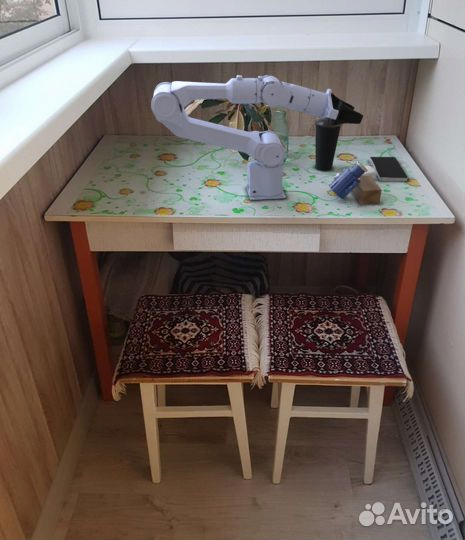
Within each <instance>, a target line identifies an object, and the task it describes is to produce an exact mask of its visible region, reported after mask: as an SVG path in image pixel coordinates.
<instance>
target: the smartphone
mask: <svg viewBox="0 0 465 540" xmlns="http://www.w3.org/2000/svg"><path fill="white" fill-rule="evenodd" d="M368 160H369V163H370V166H371V167H373V168H374V169H375V171H376V177H377V178H378V180H379V182H408V178H409V177H408V175H407V174H406V172H405V170H404V169H403V167H402V165H401V163H400V162H399V160H398V159H397V158H396V157H395V156H370V157H369V159H368Z"/></svg>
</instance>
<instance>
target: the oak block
mask: <svg viewBox="0 0 465 540" xmlns="http://www.w3.org/2000/svg"><path fill="white" fill-rule="evenodd" d="M360 179H361V182H360V183H359V184H358V185H357V186H356V187H355V188H354V189H353V190H352V191H351V192H350V193H352V195H353V196H354V198H355V199H356V201H357V202H358V203H359V205H360V206H362V205H363V206H367V205H380V202H381V197H382V188H381V186H379V184H378V183H377V182H376V181H375V179H373V178H372V177H371V176H361V177H360Z"/></svg>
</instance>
